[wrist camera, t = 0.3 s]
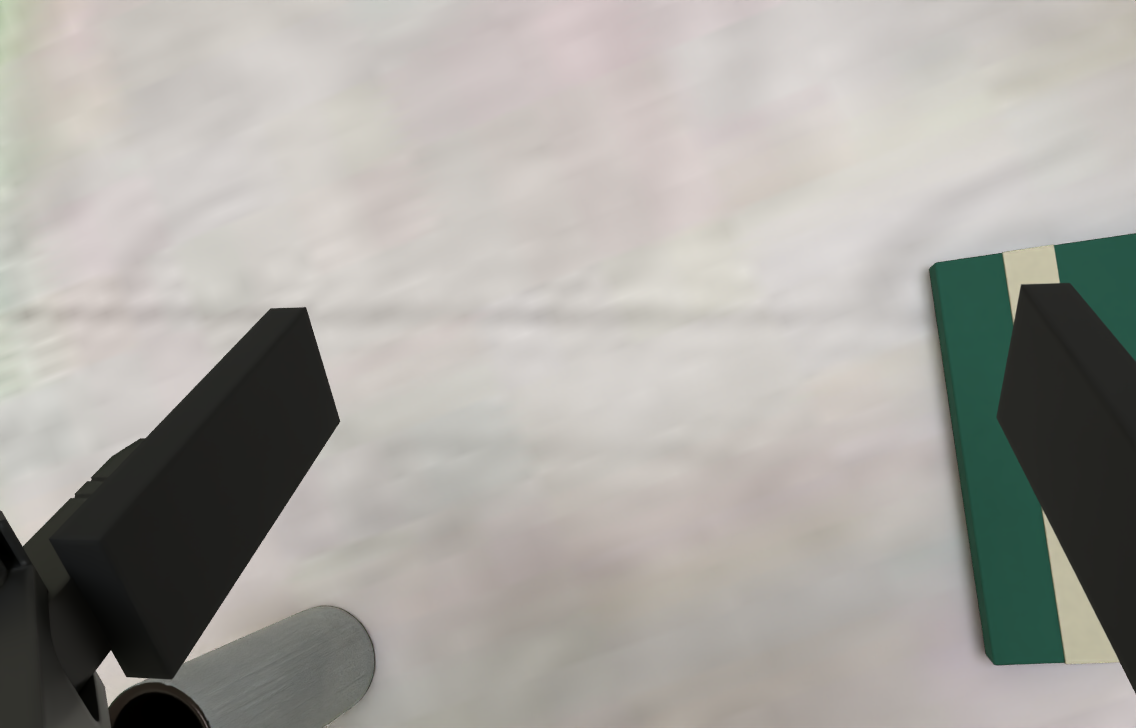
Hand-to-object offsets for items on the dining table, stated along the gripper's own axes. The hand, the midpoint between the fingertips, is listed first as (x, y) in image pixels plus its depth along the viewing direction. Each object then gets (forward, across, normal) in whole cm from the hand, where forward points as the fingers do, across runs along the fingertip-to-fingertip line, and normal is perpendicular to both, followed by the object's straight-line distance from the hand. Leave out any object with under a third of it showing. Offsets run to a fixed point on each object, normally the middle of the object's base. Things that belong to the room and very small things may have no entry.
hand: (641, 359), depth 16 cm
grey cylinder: (+9, +15, +20) cm, 27 cm away
